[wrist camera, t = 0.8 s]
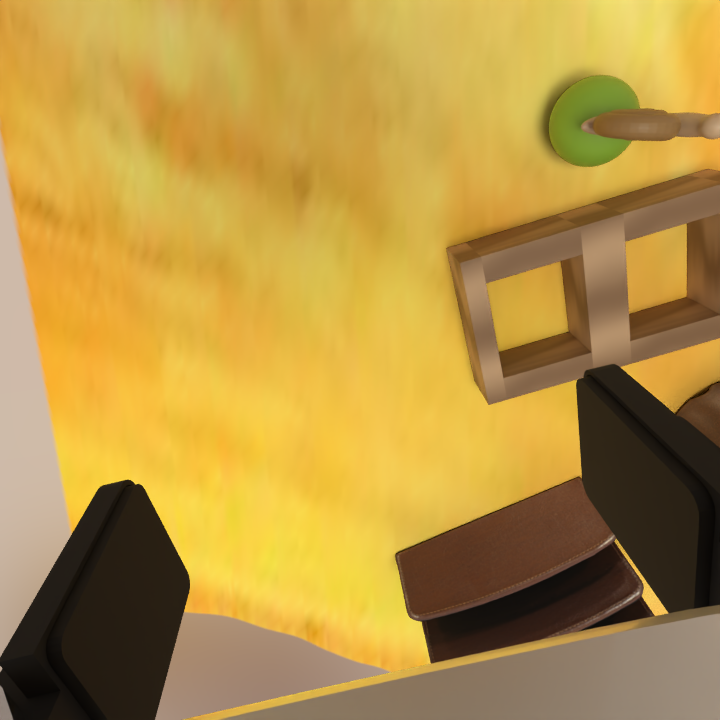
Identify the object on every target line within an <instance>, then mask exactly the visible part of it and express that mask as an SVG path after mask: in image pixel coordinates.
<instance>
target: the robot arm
mask: <svg viewBox="0 0 720 720" xmlns="http://www.w3.org/2000/svg"><path fill="white" fill-rule="evenodd" d="M576 389H577V405H578V420H579V436H580V452H581V468H582V481H583V486H584V489H585V492H586V494H587V496H588V498H589V500H590V501H591V503H592V504H593V505H594V507H595V508H596V510H597V511H598V513H599V514H600V515H601V517H602V518H603V520H604V521H605V523H606V524H607V525H608V527H609V528H610V530H611V531H612V533H613V534H614V535H615V537H616V538H617V540H618V541H619V543H620V544H621V546H622V547H623V548H624V550H625V551H626V553H627V554H628V556H629V557H630V558H631V560H632V561H633V563H634V564H635V566H636V567H637V568H638V570H639V571H640V573H641V574H642V576H643V577H644V578H645V580H646V581H647V583H648V584H649V586H650V587H651V588H652V590H653V591H654V593H655V594H656V596H657V597H658V598H659V600H660V601H661V603H662V604H663V606H664V607H665V608H666V610H667V611H668V613H669V614H664V615H658V616H653V617H648V618H643V619H638V620H633V621H628V622H623V623H618V624H613V625H608V626H603V627H598V628H593V629H588V630H584V631H579V632H575V633H570V634H565V635H561V636H556V637H551V638H547V639H542V640H538V641H533V642H528V643H524V644H519V645H514V646H510V647H505V648H501V649H496V650H491V651H487V652H482V653H478V654H473V655H468V656H464V657H459V658H454V659H450V660H445V661H441V662H436V663H432V664H427V665H423V666H418V667H414V668H409V669H405V670H400V671H396V672H391V673H387V674H382V675H378V676H374V677H369V678H364V679H360V680H355V681H351V682H346V683H342V684H337V685H333V686H329V687H324V688H319V689H315V690H310V691H306V692H301V693H297V694H292V695H288V696H284V697H279V698H275V699H270V700H266V701H262V702H257V703H253V704H249V705H244V706H240V707H235V708H232V709H227V710H223V711H218V712H214V713H209V714H205V715H200V716H196V717H192V718H187V719H183V720H720V448H719V447H718V446H717V445H716V444H715V443H713V442H712V441H711V440H710V439H709V438H707V437H706V436H705V435H704V434H703V433H702V432H700V431H699V430H698V429H697V428H696V427H694V426H693V425H692V424H691V423H690V422H688V421H687V420H686V419H684V418H683V417H681V416H678V415H676V414H674V413H673V412H672V411H671V410H670V409H668V408H667V407H666V406H665V405H664V404H663V403H661V402H660V401H659V400H658V399H657V398H655V397H654V396H653V395H652V394H651V393H650V392H648V391H647V390H646V389H645V388H644V387H643V386H641V385H640V384H639V383H638V382H637V381H635V380H634V379H633V378H632V377H631V376H630V375H628V374H627V373H626V372H625V371H624V370H623V369H621V368H620V367H619V366H618V365H616V364H609V365H605V366H601V367H597V368H593V369H588V370H586V371H585V372H584V378H581V379H578V380H577V383H576ZM189 590H190V579H189V575H188V572H187V570H186V568H185V566H184V564H183V562H182V560H181V558H180V557H179V555H178V553H177V551H176V549H175V547H174V545H173V543H172V541H171V539H170V537H169V535H168V533H167V531H166V530H165V528H164V526H163V524H162V522H161V520H160V518H159V516H158V514H157V512H156V510H155V508H154V506H153V504H152V503H151V501H150V499H149V497H148V495H147V493H146V491H145V489H144V488H143V486H142V485H140V484H136V485H135V484H134V482H132V481H131V480H124V481H120V482H116V483H111V484H107V485H103V486H101V487H100V488H99V489H98V490H97V492H96V494H95V495H94V497H93V499H92V500H91V502H90V504H89V506H88V507H87V509H86V511H85V513H84V514H83V516H82V518H81V519H80V521H79V523H78V525H77V526H76V528H75V530H74V531H73V533H72V535H71V537H70V538H69V540H68V542H67V544H66V545H65V547H64V549H63V550H62V552H61V554H60V556H59V557H58V559H57V561H56V562H55V564H54V566H53V568H52V569H51V571H50V573H49V575H48V576H47V578H46V580H45V581H44V583H43V585H42V587H41V588H40V590H39V592H38V593H37V595H36V597H35V599H34V600H33V602H32V604H31V606H30V607H29V609H28V611H27V612H26V614H25V616H24V618H23V619H22V621H21V623H20V624H19V626H18V628H17V630H16V631H15V633H14V635H13V636H12V638H11V640H10V642H9V643H8V645H7V647H6V648H5V650H4V652H3V654H2V656H1V657H0V666H1V667H2V668H3V669H2V671H1V672H0V720H155V717H156V713H157V710H158V706H159V702H160V699H161V695H162V691H163V687H164V683H165V680H166V676H167V672H168V669H169V665H170V661H171V658H172V654H173V650H174V646H175V643H176V639H177V635H178V631H179V627H180V624H181V620H182V616H183V613H184V609H185V605H186V602H187V598H188V594H189Z"/></svg>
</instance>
